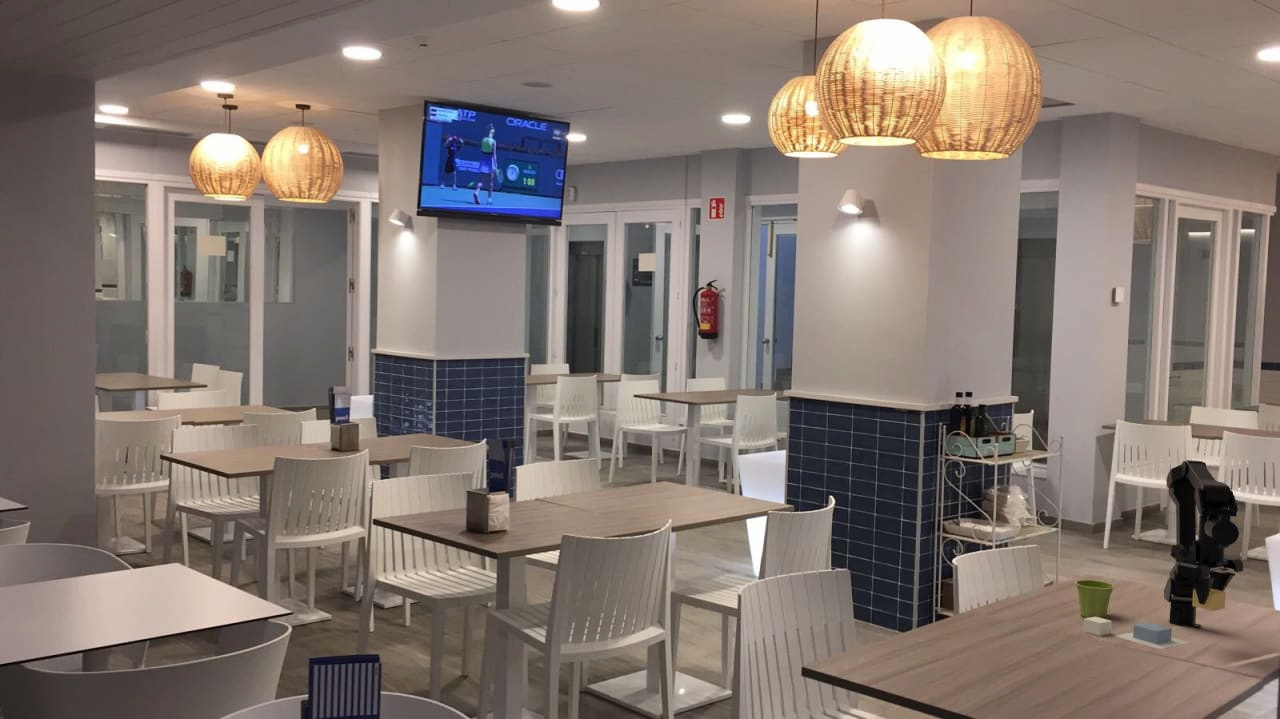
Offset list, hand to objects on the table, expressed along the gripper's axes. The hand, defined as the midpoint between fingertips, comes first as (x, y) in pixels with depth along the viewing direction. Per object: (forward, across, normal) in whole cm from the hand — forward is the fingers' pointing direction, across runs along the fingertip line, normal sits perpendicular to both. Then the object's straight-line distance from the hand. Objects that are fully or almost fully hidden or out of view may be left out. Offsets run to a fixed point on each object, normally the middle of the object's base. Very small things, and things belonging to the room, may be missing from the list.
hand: (1208, 602), depth 270 cm
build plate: (+11, +7, -9) cm, 16 cm away
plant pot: (+11, -1, -31) cm, 33 cm away
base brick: (+10, +7, -9) cm, 16 cm away
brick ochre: (+1, 0, 0) cm, 1 cm away
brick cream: (+11, +14, -19) cm, 26 cm away
